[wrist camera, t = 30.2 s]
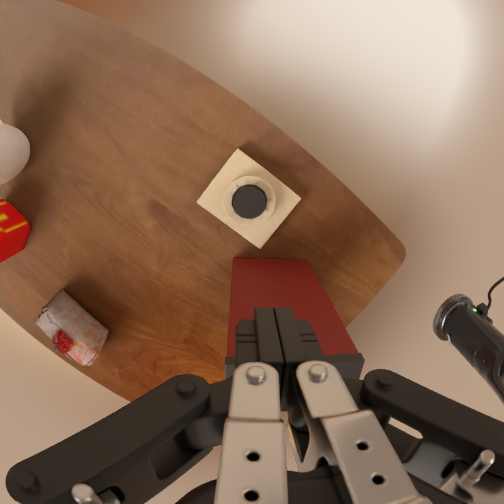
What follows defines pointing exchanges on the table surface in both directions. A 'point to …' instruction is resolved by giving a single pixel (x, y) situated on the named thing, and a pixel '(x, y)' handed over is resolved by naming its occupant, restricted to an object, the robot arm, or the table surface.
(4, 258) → the french fries container
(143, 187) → the table surface
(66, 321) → the food item
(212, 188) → the brew pad
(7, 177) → the mug
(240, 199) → the button
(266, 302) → the coffee maker
